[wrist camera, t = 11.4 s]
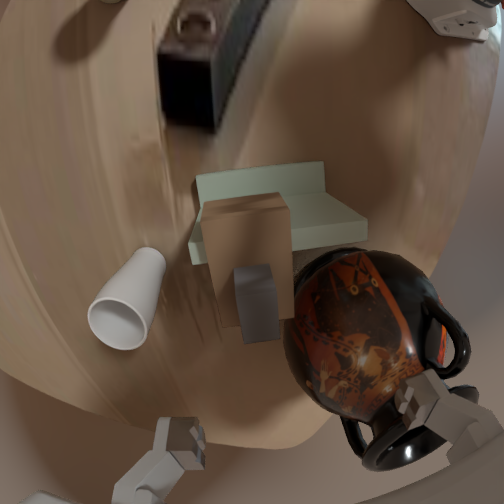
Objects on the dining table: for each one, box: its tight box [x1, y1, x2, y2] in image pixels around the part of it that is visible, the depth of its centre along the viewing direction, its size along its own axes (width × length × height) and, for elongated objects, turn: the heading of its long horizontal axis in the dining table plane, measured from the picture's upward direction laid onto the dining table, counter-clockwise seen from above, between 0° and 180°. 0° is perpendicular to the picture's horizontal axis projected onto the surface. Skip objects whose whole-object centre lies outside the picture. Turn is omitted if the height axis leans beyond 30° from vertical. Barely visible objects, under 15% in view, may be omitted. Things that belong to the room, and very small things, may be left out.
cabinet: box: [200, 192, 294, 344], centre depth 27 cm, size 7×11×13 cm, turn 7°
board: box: [188, 161, 368, 265], centre depth 31 cm, size 16×6×14 cm, turn 97°
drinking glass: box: [88, 247, 166, 350], centre depth 33 cm, size 7×7×15 cm
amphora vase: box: [283, 247, 479, 472], centre depth 31 cm, size 22×22×28 cm
